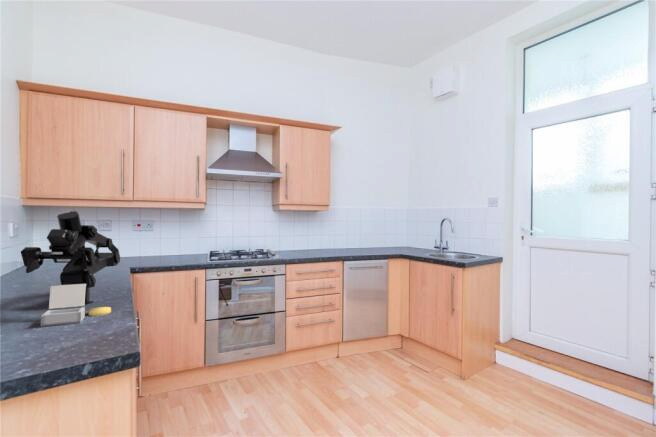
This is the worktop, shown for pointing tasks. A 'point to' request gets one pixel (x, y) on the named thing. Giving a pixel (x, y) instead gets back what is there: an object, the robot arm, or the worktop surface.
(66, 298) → the lid
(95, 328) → the worktop surface
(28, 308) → the worktop surface
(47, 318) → the grey frame
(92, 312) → the yellow rounded disc
